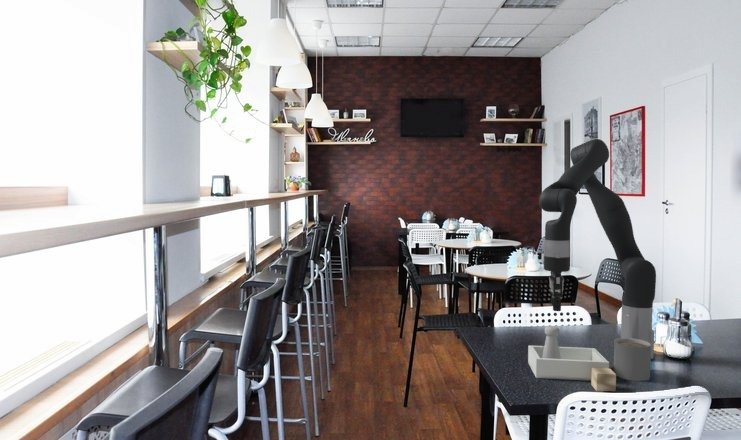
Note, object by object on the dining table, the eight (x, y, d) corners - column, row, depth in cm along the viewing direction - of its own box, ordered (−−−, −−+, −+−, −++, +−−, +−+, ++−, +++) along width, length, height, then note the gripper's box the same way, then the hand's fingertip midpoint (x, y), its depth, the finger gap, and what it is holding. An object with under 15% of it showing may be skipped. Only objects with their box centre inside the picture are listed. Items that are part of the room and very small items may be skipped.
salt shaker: (559, 366, 164) (561, 325, 164) (562, 372, 159) (563, 329, 158) (540, 365, 165) (541, 324, 165) (542, 371, 160) (543, 328, 159)
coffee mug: (641, 383, 152) (642, 349, 151) (607, 374, 159) (608, 341, 159) (660, 373, 160) (661, 341, 160) (627, 365, 168) (628, 334, 167)
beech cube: (609, 385, 150) (610, 368, 150) (615, 392, 145) (616, 374, 145) (591, 384, 150) (591, 367, 150) (596, 391, 145) (597, 373, 145)
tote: (594, 365, 167) (594, 348, 167) (608, 381, 153) (609, 362, 153) (528, 362, 170) (528, 345, 170) (536, 377, 156) (536, 359, 155)
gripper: (542, 252, 167) (541, 302, 168) (545, 257, 154) (544, 312, 154) (567, 252, 165) (566, 304, 166) (572, 257, 152) (571, 313, 152)
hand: (555, 307), depth 160 cm, fingers open, 8 cm apart
